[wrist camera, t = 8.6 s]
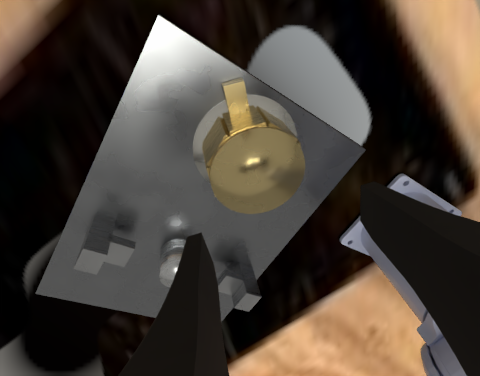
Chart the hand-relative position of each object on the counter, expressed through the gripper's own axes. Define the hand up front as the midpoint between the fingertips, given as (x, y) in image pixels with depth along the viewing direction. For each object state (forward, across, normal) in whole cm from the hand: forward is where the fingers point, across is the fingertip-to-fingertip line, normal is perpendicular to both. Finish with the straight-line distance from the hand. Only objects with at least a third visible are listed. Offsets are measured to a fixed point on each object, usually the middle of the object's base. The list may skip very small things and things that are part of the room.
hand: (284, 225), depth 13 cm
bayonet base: (+9, +5, +5) cm, 12 cm away
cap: (+8, 0, 0) cm, 8 cm away
